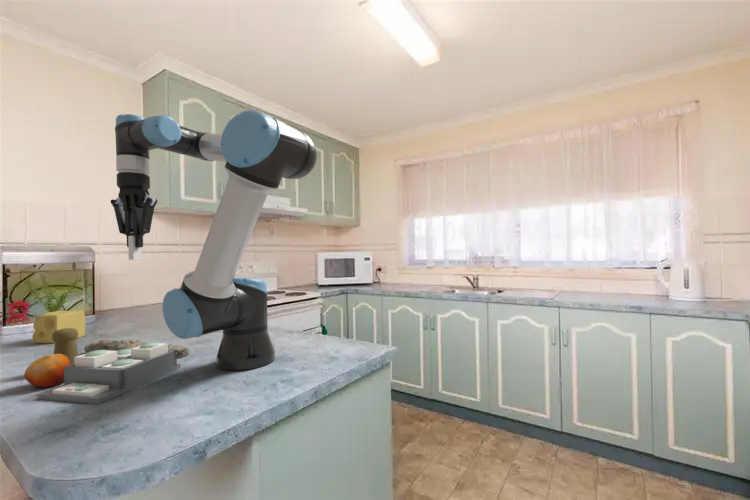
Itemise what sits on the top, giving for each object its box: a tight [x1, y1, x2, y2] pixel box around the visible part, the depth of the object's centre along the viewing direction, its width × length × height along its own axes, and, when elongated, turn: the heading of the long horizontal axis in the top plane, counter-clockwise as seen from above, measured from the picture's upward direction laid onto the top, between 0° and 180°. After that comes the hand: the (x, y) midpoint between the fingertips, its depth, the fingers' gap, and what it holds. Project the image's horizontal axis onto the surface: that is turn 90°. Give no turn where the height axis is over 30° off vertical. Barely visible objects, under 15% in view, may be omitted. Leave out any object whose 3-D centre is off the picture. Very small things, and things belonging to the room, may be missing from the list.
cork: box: [52, 328, 80, 365], centre depth 93 cm, size 6×6×11 cm
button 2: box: [101, 359, 143, 369], centre depth 81 cm, size 6×6×3 cm
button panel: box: [37, 348, 182, 405], centre depth 83 cm, size 16×22×5 cm
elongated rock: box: [83, 338, 190, 359], centre depth 106 cm, size 35×5×10 cm
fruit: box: [23, 353, 71, 388], centre depth 83 cm, size 8×8×8 cm
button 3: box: [117, 349, 131, 358], centre depth 90 cm, size 6×6×3 cm
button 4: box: [131, 342, 169, 359], centre depth 88 cm, size 6×6×3 cm
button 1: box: [74, 350, 117, 368], centre depth 82 cm, size 6×6×3 cm
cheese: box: [32, 310, 86, 344], centre depth 127 cm, size 10×11×10 cm
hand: (135, 259), depth 96 cm, fingers closed
